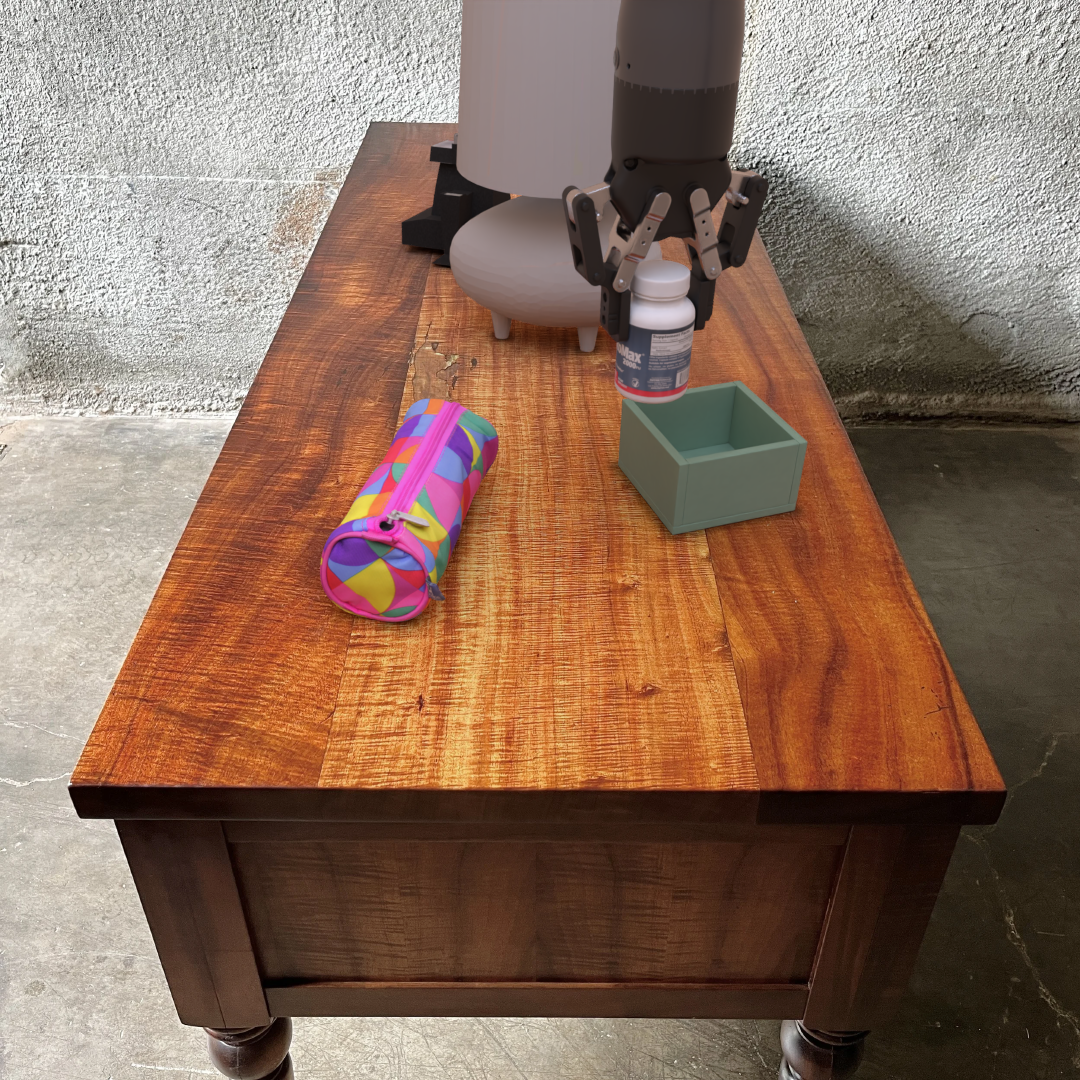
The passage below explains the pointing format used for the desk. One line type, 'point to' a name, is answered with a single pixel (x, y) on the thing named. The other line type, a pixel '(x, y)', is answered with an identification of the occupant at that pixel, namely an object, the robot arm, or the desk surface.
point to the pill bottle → (657, 334)
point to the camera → (448, 204)
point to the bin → (711, 457)
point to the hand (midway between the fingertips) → (655, 330)
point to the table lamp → (534, 154)
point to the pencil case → (409, 514)
